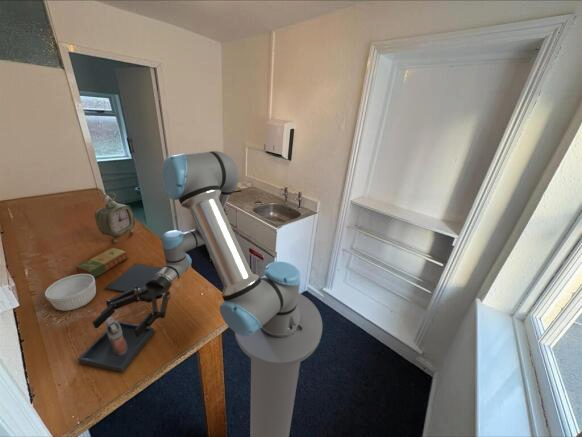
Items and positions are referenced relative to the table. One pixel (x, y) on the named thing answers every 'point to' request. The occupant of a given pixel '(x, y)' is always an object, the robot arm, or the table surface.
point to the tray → (105, 355)
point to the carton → (101, 262)
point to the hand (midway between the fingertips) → (115, 329)
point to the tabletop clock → (114, 218)
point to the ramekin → (71, 292)
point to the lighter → (116, 336)
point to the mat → (133, 278)
